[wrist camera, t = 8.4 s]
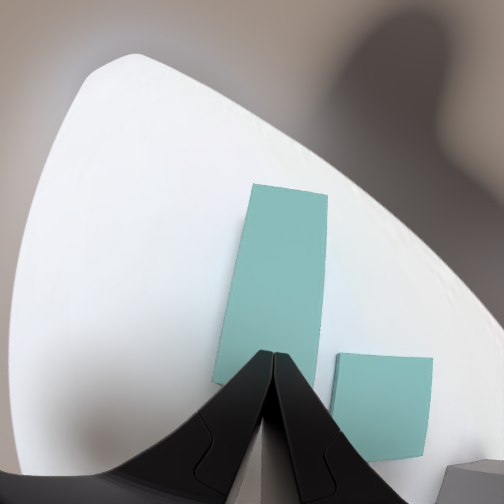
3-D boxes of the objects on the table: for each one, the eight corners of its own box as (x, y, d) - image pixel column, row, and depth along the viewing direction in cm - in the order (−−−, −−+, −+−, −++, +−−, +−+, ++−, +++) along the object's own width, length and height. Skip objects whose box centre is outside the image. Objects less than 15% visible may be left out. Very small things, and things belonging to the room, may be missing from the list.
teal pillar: (312, 396, 10) (327, 194, 15) (211, 381, 11) (253, 183, 15) (296, 396, 14) (313, 234, 19) (220, 385, 14) (252, 224, 19)
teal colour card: (417, 454, 12) (422, 455, 11) (321, 459, 12) (324, 461, 11) (427, 359, 14) (432, 357, 14) (337, 354, 15) (340, 352, 14)
